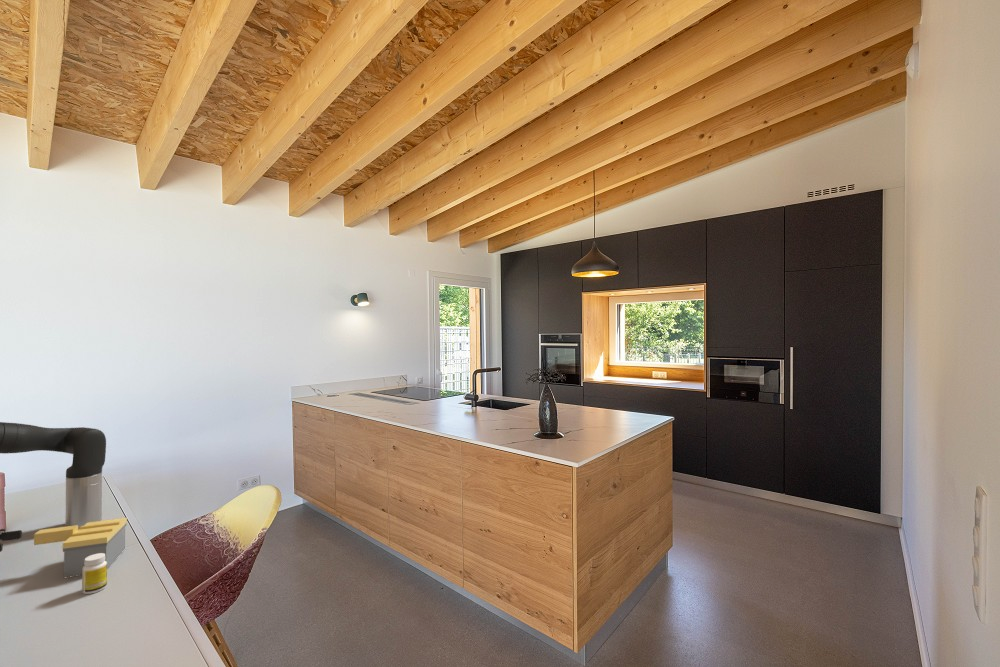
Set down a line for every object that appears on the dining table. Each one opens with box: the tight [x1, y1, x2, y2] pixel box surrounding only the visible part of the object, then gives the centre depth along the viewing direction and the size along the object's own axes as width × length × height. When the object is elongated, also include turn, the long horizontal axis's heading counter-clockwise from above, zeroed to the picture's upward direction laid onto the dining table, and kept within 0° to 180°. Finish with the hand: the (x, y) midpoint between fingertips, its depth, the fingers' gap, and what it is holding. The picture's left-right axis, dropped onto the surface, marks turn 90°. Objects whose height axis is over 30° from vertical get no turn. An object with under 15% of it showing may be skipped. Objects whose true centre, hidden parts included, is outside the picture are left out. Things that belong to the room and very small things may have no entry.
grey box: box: [62, 523, 127, 578], centre depth 129 cm, size 14×9×8 cm, turn 23°
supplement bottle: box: [81, 553, 108, 595], centre depth 116 cm, size 5×5×8 cm
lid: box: [33, 517, 128, 550], centre depth 128 cm, size 14×18×3 cm
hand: (11, 540), depth 122 cm, fingers open, 8 cm apart
